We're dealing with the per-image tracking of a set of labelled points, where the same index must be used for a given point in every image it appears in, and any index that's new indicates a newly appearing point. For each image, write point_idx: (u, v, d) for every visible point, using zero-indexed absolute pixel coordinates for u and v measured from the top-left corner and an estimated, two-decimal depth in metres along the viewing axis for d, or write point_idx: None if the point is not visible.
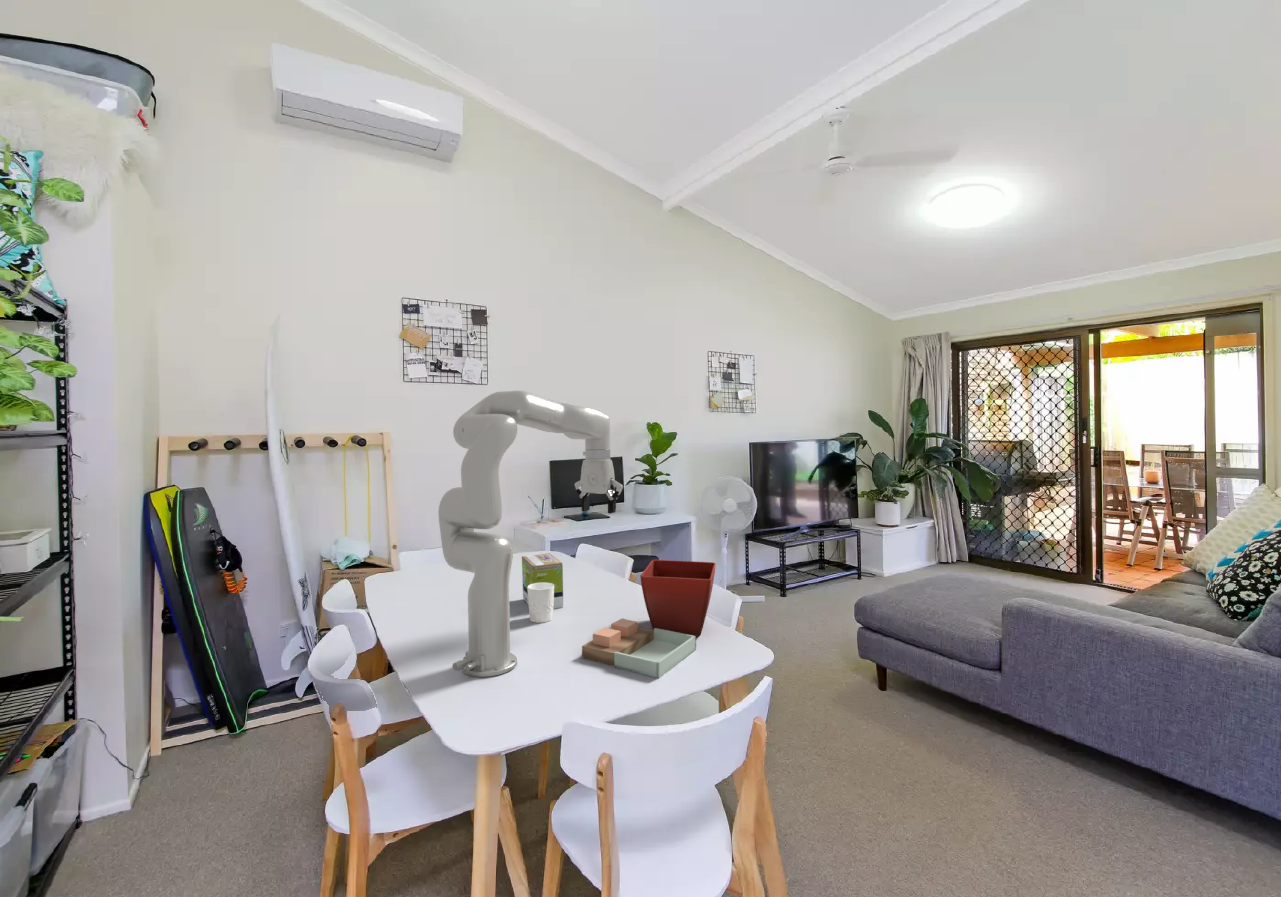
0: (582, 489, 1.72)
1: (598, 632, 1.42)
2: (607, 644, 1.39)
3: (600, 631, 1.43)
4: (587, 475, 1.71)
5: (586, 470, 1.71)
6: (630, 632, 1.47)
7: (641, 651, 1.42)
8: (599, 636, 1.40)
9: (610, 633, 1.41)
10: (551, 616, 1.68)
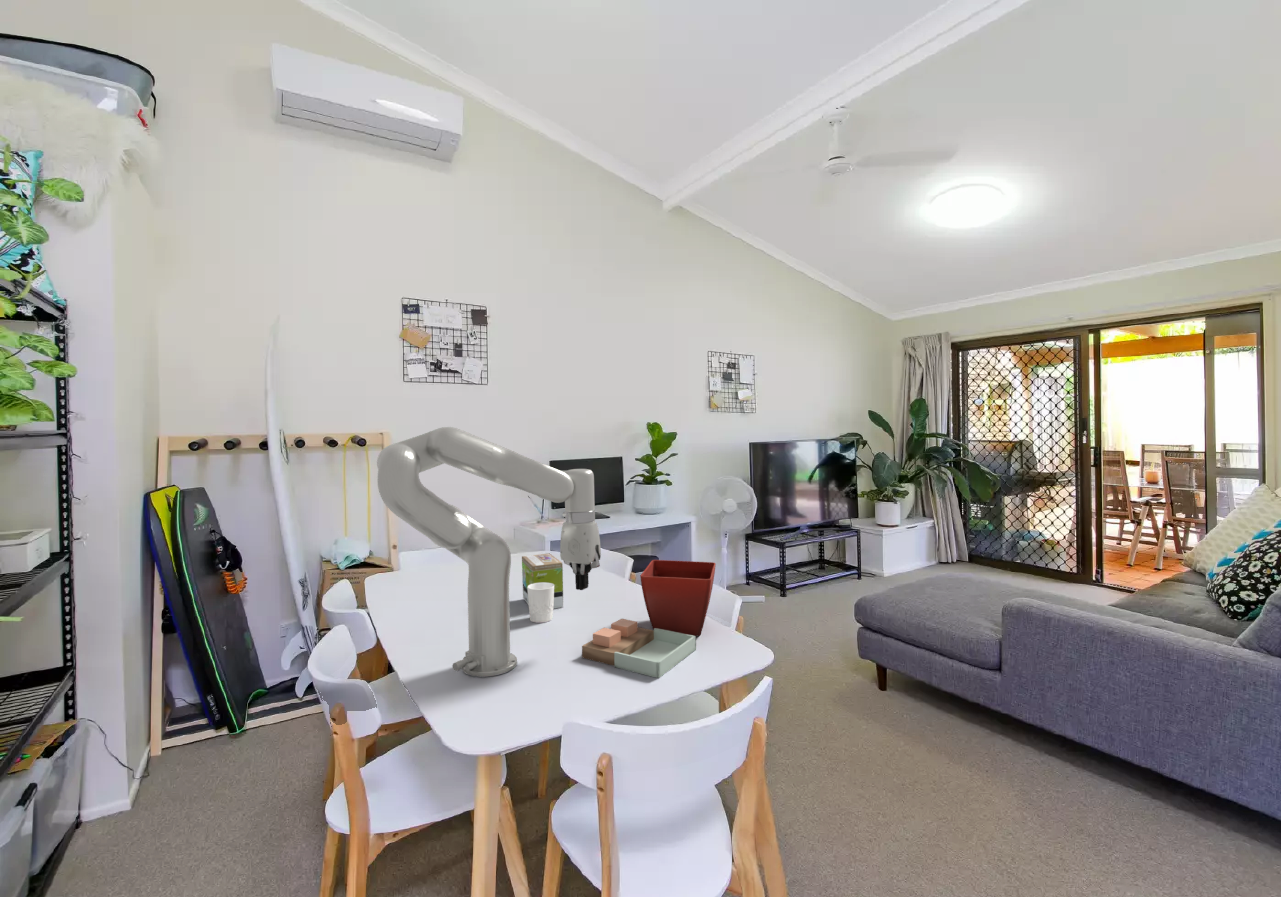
0: (562, 557, 1.45)
1: (598, 632, 1.42)
2: (607, 644, 1.39)
3: (600, 631, 1.43)
4: (568, 541, 1.44)
5: (567, 536, 1.44)
6: (630, 632, 1.47)
7: (641, 651, 1.42)
8: (599, 636, 1.40)
9: (610, 633, 1.41)
10: (551, 616, 1.68)
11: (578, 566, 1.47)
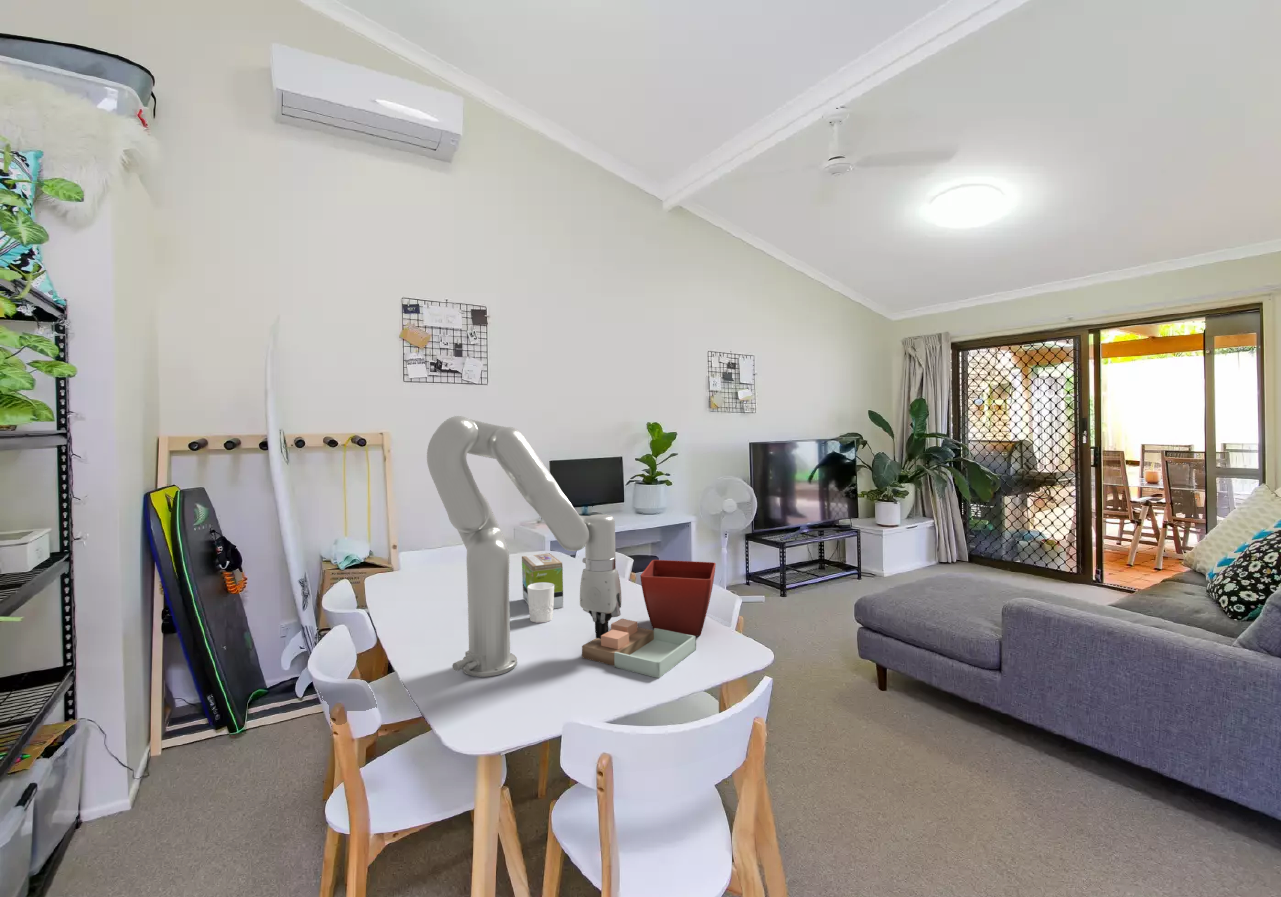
0: (582, 605, 1.42)
1: (606, 634, 1.41)
2: (616, 646, 1.38)
3: (608, 633, 1.41)
4: (588, 589, 1.41)
5: (587, 583, 1.41)
6: (630, 632, 1.47)
7: (641, 651, 1.42)
8: (607, 638, 1.39)
9: (619, 635, 1.40)
10: (551, 616, 1.68)
11: (598, 614, 1.44)
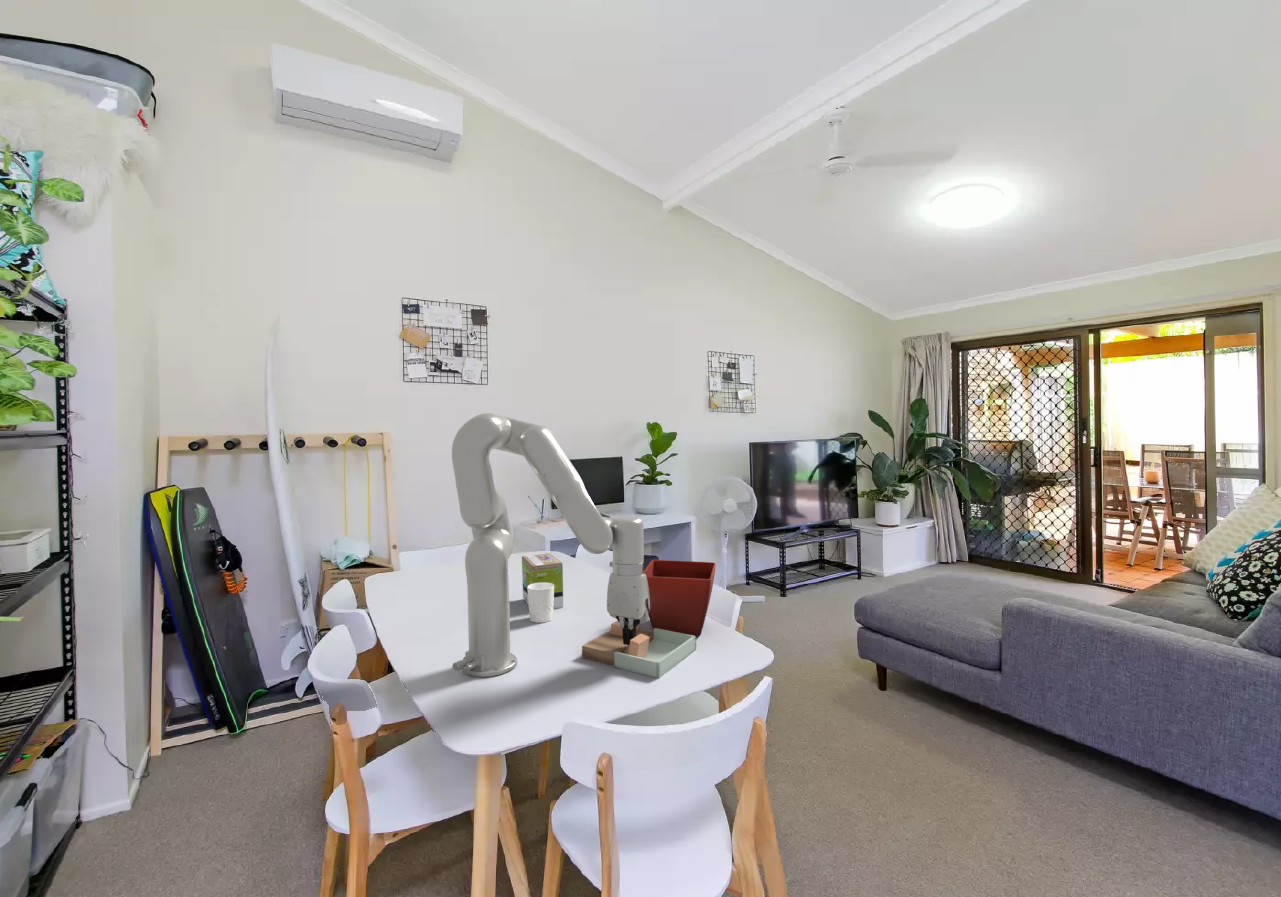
0: (609, 610, 1.38)
1: (641, 644, 1.35)
2: None
3: (643, 643, 1.36)
4: (615, 594, 1.37)
5: (614, 588, 1.37)
6: None
7: None
8: (636, 651, 1.35)
9: (641, 656, 1.36)
10: (551, 616, 1.68)
11: (625, 619, 1.39)
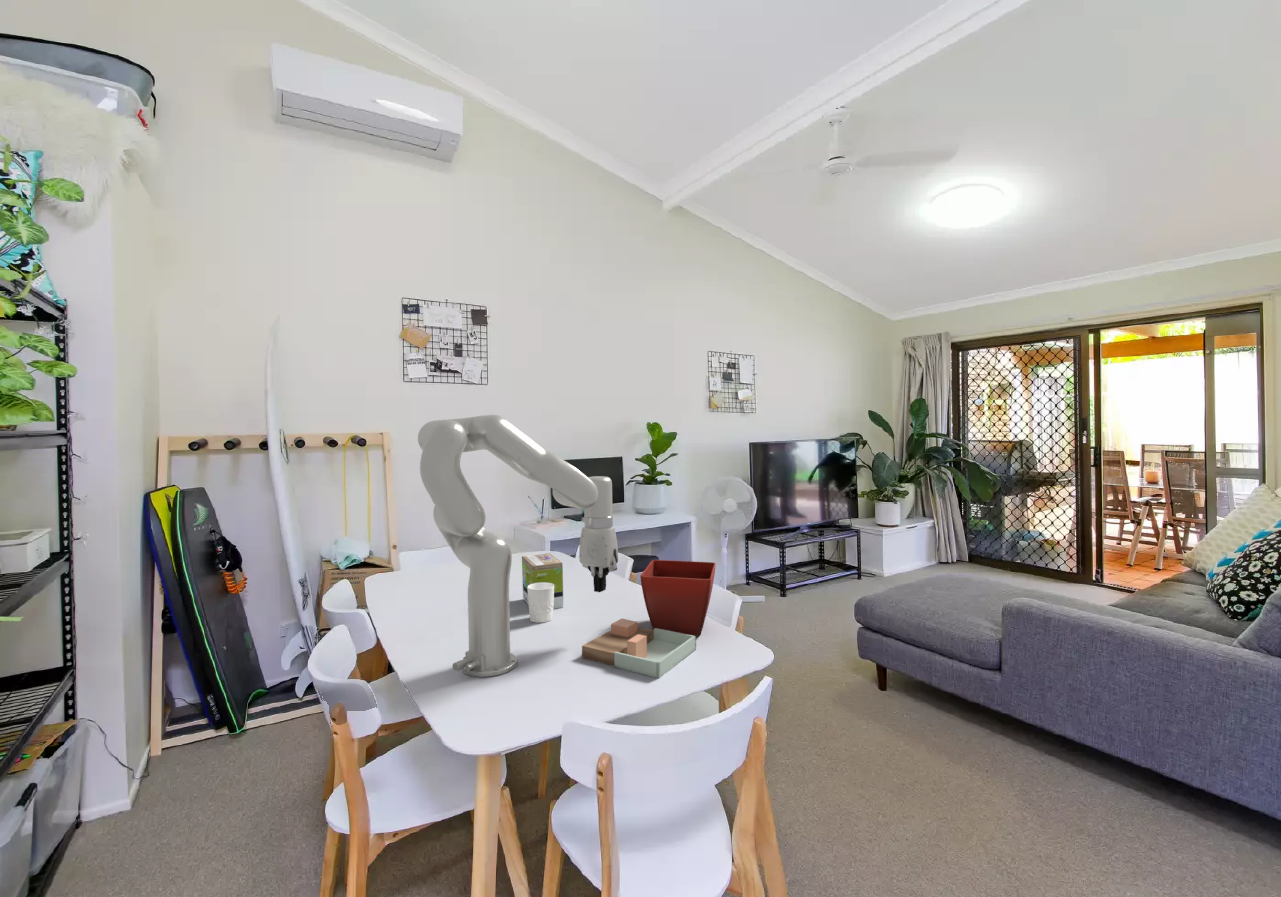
0: (581, 561, 1.52)
1: (639, 643, 1.36)
2: None
3: (640, 643, 1.36)
4: (587, 546, 1.51)
5: (586, 540, 1.51)
6: (630, 632, 1.47)
7: None
8: (634, 651, 1.35)
9: (640, 656, 1.37)
10: (551, 616, 1.68)
11: (596, 569, 1.53)
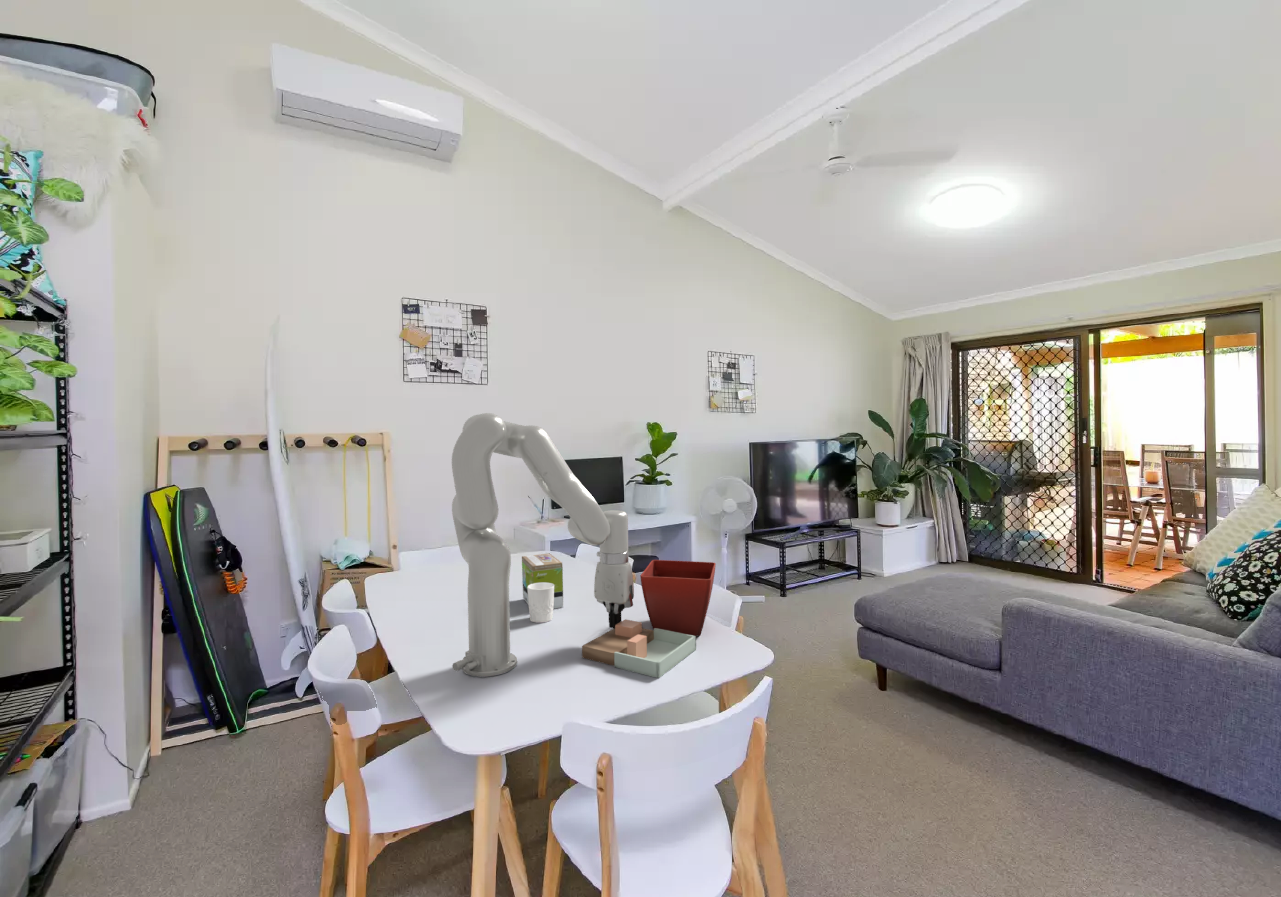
0: (596, 596, 1.50)
1: (639, 643, 1.36)
2: None
3: (640, 643, 1.36)
4: (602, 581, 1.49)
5: (601, 576, 1.49)
6: (634, 633, 1.46)
7: None
8: (634, 651, 1.35)
9: (640, 656, 1.37)
10: (551, 616, 1.68)
11: (611, 605, 1.51)
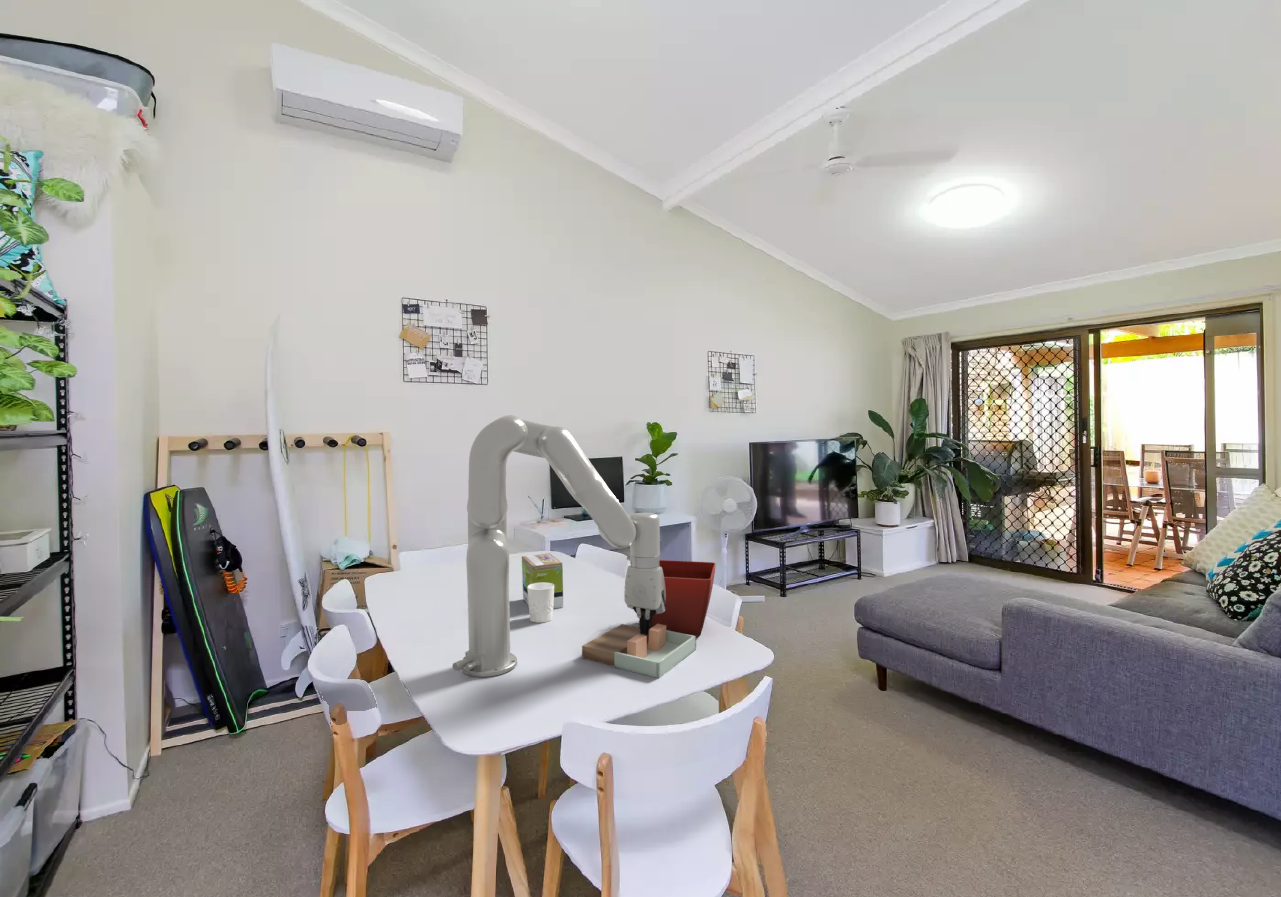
0: (627, 602, 1.45)
1: (639, 643, 1.36)
2: None
3: (640, 643, 1.36)
4: (633, 586, 1.44)
5: (632, 580, 1.44)
6: None
7: None
8: (634, 651, 1.35)
9: (640, 656, 1.37)
10: (551, 616, 1.68)
11: (642, 610, 1.46)
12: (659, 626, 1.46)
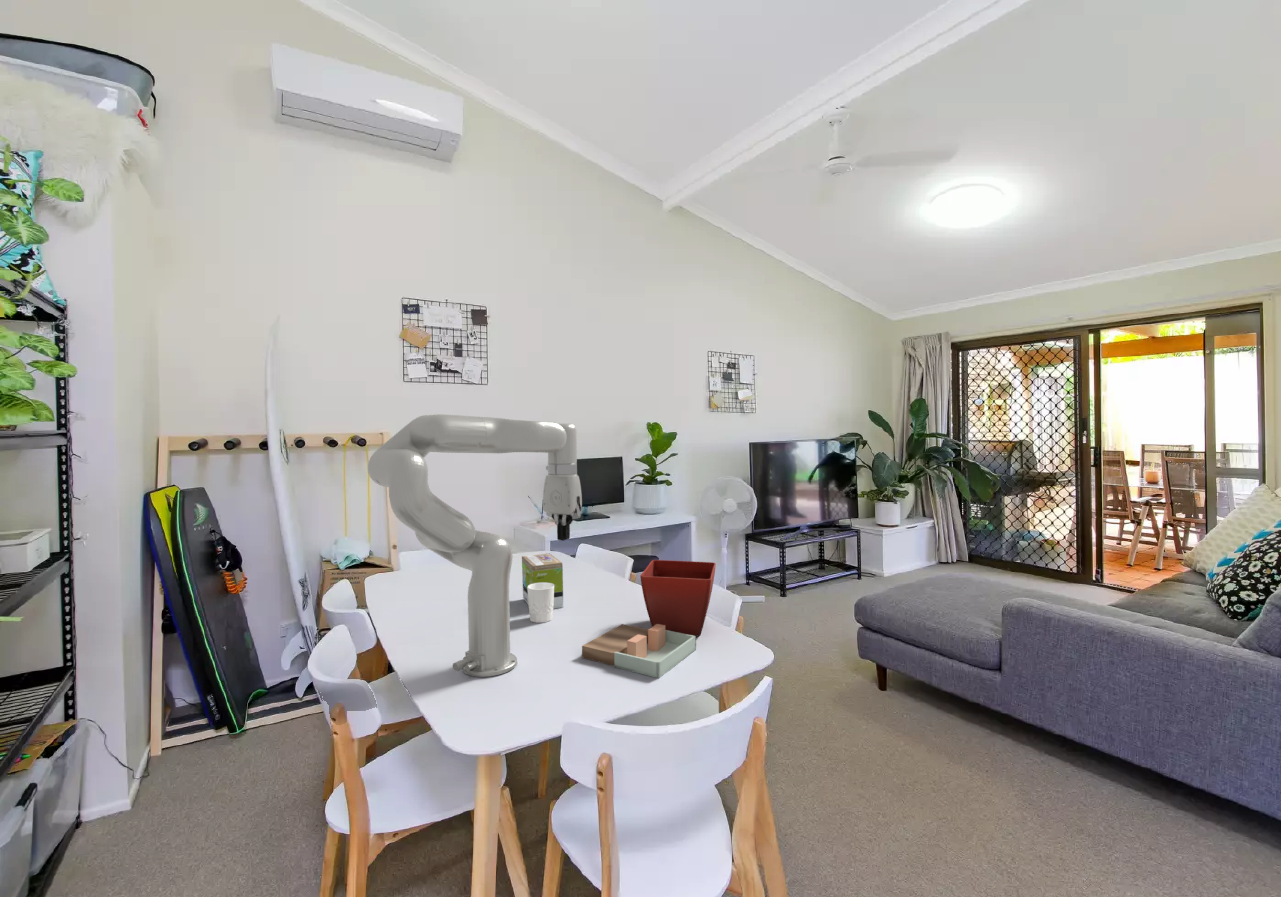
0: (545, 509, 1.50)
1: (639, 643, 1.36)
2: None
3: (640, 643, 1.36)
4: (550, 493, 1.49)
5: (549, 488, 1.49)
6: None
7: None
8: (634, 651, 1.35)
9: (640, 656, 1.37)
10: (551, 616, 1.68)
11: (560, 518, 1.52)
12: (658, 626, 1.46)
